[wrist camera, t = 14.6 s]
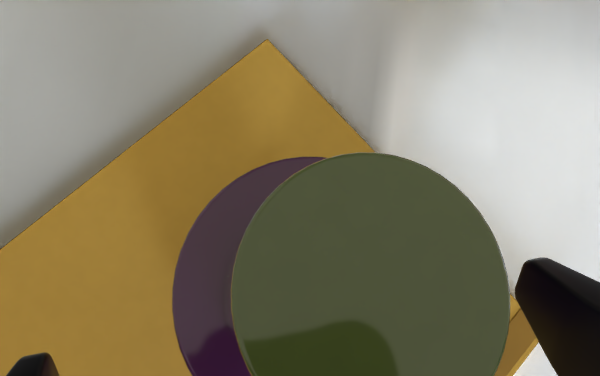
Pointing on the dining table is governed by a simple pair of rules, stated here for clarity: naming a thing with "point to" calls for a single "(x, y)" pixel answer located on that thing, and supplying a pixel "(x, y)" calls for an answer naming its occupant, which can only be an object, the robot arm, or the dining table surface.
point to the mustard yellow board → (163, 226)
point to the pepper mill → (341, 274)
